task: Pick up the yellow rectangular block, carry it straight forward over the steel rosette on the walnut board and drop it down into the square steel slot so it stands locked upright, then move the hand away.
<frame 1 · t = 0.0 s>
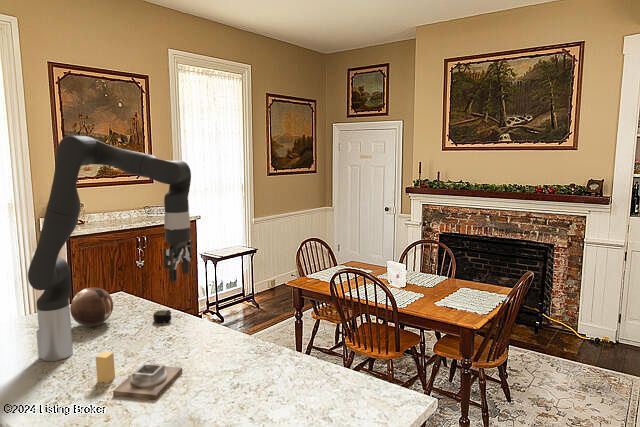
hand: (179, 277, 143), 29 cm above the kitchen island, fingers open, 8 cm apart
rosette socket: (149, 383, 136), on the kitchen island
tape measure: (164, 321, 185), on the kitchen island
yellow rectangular block: (106, 379, 138), on the kitchen island
wooden sphere: (93, 325, 180), on the kitchen island
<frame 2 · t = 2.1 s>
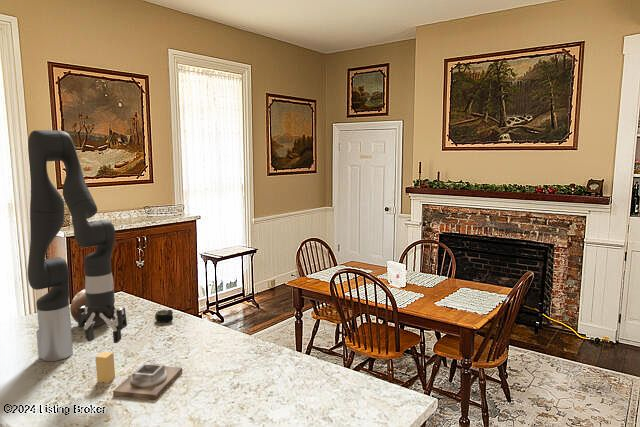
hand: (103, 341, 136), 12 cm above the kitchen island, fingers open, 8 cm apart
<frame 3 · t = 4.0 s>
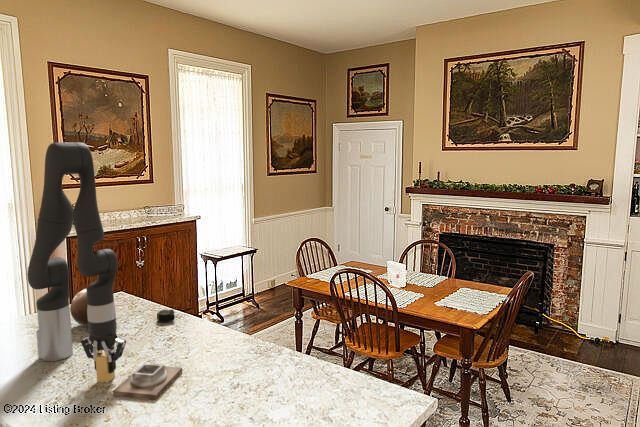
hand: (105, 371, 138), 3 cm above the kitchen island, fingers closed on yellow rectangular block, 3 cm apart
yellow rectangular block: (106, 379, 138), on the kitchen island, touching gripper
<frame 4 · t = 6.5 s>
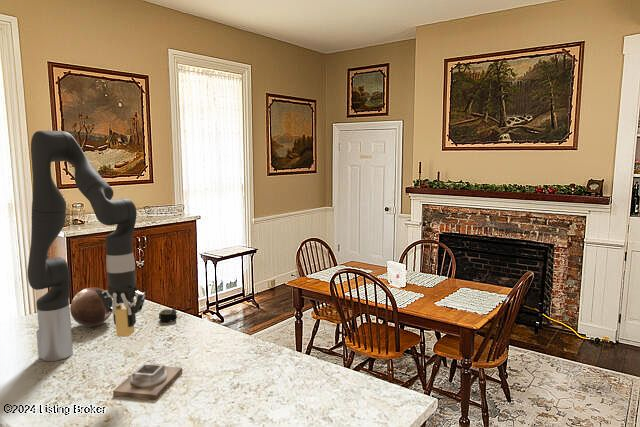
hand: (125, 325, 134), 18 cm above the kitchen island, fingers closed on yellow rectangular block, 3 cm apart
yellow rectangular block: (125, 334, 134), point 15 cm above the kitchen island, touching gripper
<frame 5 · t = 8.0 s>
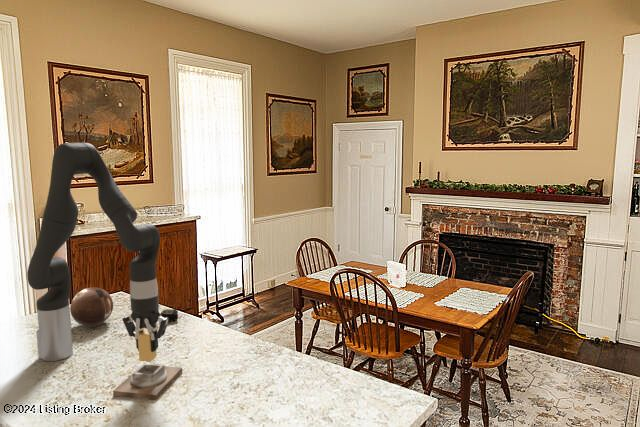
hand: (147, 350, 134), 10 cm above the kitchen island, fingers closed on yellow rectangular block, 3 cm apart
yellow rectangular block: (148, 358, 135), point 8 cm above the kitchen island, touching gripper
when the fingers open (6 cm above the kitchen island, at t = 9.3 s): yellow rectangular block stays where it is, resting on rosette socket.
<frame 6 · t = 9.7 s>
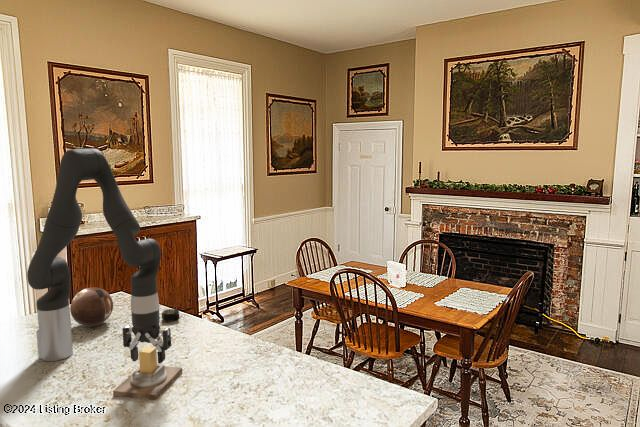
hand: (148, 361, 135), 7 cm above the kitchen island, fingers open, 7 cm apart
yellow rectangular block: (149, 375, 135), point 3 cm above the kitchen island, touching rosette socket
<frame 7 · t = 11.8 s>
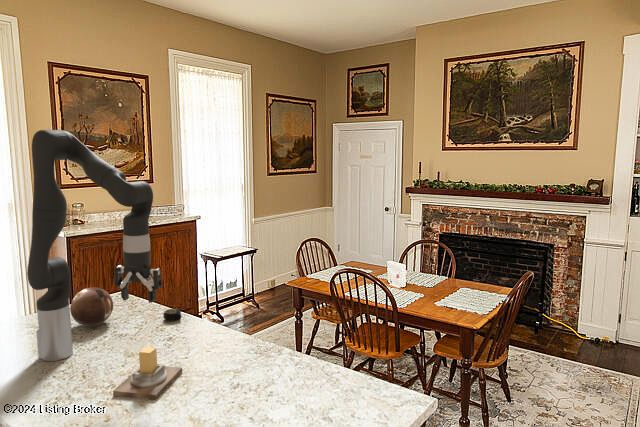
hand: (138, 300, 139), 23 cm above the kitchen island, fingers open, 8 cm apart
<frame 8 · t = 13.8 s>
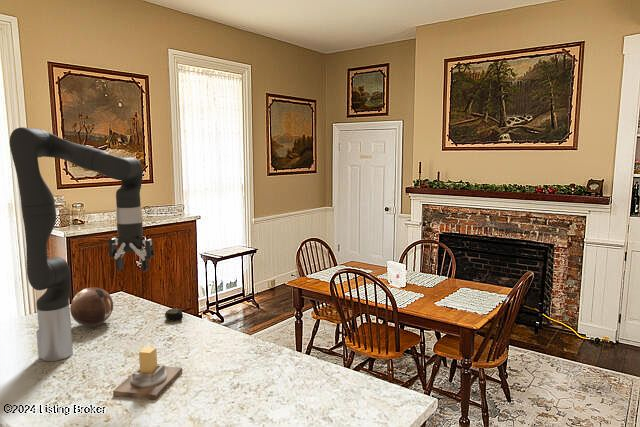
hand: (132, 270, 147), 30 cm above the kitchen island, fingers open, 8 cm apart
at the end: yellow rectangular block 0.1 cm off-centre on the rosette socket, point 2.5 cm above the rosette socket's base; yellow rectangular block tilted 0°; the gripper is holding nothing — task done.
